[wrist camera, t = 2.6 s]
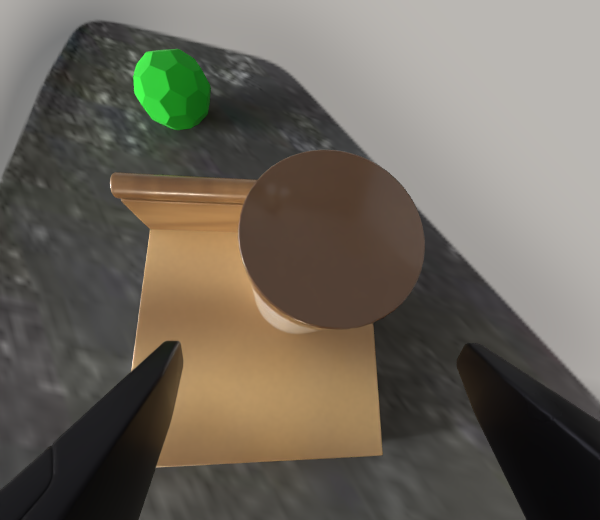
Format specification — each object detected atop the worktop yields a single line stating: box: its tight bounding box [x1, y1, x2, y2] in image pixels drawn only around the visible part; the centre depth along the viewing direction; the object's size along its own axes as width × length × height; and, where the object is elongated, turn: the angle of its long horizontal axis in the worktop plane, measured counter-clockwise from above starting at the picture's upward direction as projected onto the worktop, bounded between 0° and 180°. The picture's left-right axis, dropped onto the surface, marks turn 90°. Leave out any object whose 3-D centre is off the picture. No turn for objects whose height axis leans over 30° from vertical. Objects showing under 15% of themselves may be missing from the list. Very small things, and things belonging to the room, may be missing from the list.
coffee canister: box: [238, 150, 425, 334], centre depth 14 cm, size 6×6×10 cm
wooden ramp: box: [110, 173, 383, 467], centre depth 16 cm, size 14×14×7 cm
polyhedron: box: [133, 49, 211, 130], centre depth 21 cm, size 5×5×5 cm
